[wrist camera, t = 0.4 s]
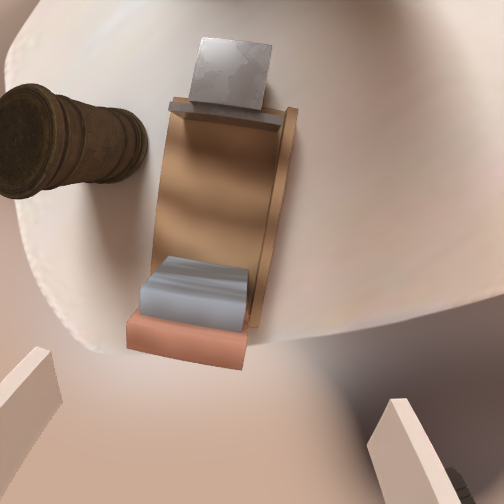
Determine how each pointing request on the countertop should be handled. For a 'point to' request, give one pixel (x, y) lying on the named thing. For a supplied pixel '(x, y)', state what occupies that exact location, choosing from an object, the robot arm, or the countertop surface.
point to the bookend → (229, 85)
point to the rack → (212, 239)
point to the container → (63, 142)
